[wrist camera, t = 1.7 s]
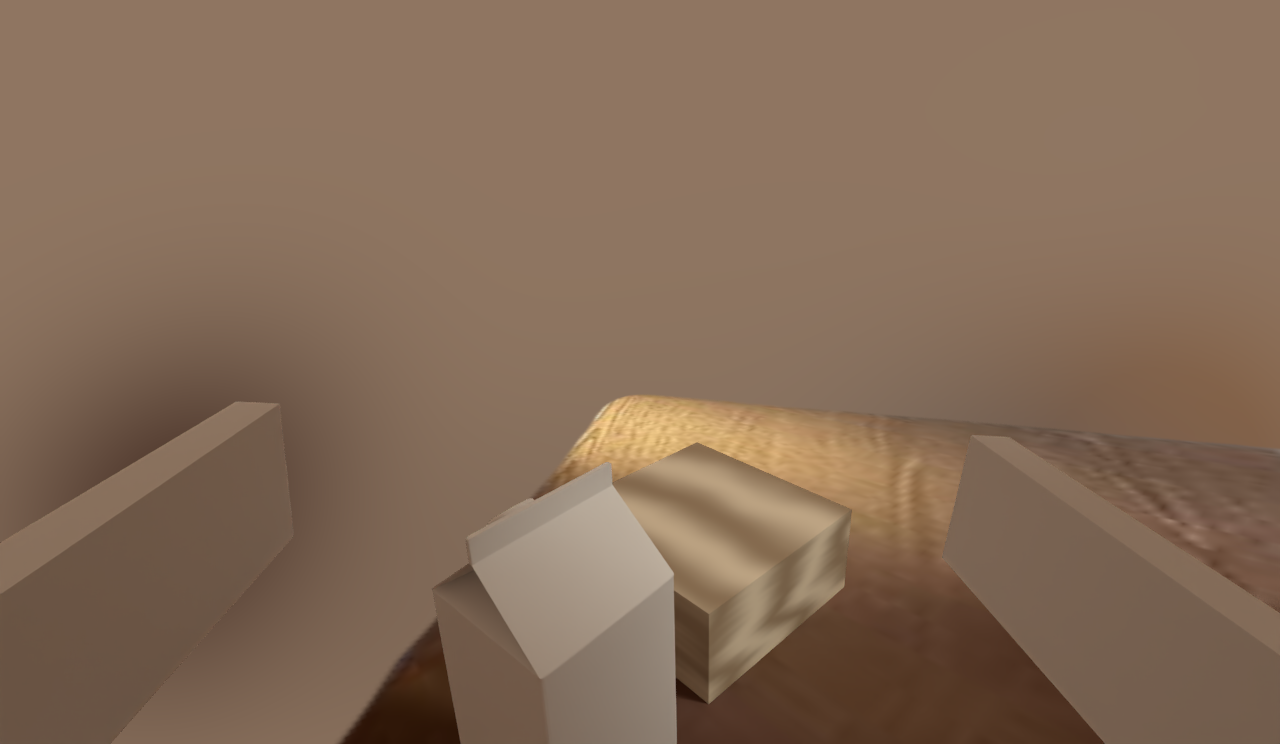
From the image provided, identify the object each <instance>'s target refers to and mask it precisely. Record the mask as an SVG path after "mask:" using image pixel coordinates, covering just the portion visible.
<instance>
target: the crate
mask: <svg viewBox="0 0 1280 744" xmlns="http://www.w3.org/2000/svg"><path fill="white" fill-rule="evenodd" d="M612 485H613V486H614V488H615V489H616V491H617V492H618V493H619V495H620V496H621V498H622V499H623V501H624V502H625V503H626V505H627V506H628V508H629V509H630V511H631V512H632V514H633V515H634V516H635V518H636V519H637V521H638V522H639V524H640V525H641V526H642V528H643V529H644V531H645V532H646V534H647V535H648V537H649V538H650V539H651V541H652V542H653V544H654V545H655V547H656V548H657V549H658V551H659V552H660V554H661V555H662V557H663V558H664V559H665V561H666V562H667V564H668V565H669V567H670V568H671V570H672V571H673V573H674V624H675V675H676V678H677V679H679V680H680V681H681V682H682V683H683V684H685V685H686V686H687V687H688V688H689V689H691V690H692V691H693V692H694V693H696V694H697V695H698V696H699V697H700V698H702V699H703V700H704V701H705V702H707V703H708V704H709V703H710V702H712V701H713V700H714V699H715V698H716V697H717V696H719V695H720V694H721V693H722V692H723V691H724V690H726V689H727V688H728V687H729V686H730V685H731V684H732V683H734V682H735V681H736V680H737V679H738V678H739V677H741V676H742V675H743V674H744V673H745V672H746V671H747V670H749V669H750V668H751V667H752V666H753V665H754V664H756V663H757V662H758V661H759V660H760V659H761V658H762V657H764V656H765V655H766V654H767V653H768V652H769V651H771V650H772V649H773V648H774V647H775V646H776V645H777V644H779V643H780V642H781V641H782V640H783V639H784V638H786V637H787V636H788V635H789V634H790V633H791V632H793V631H794V630H795V629H796V628H797V627H798V626H799V625H801V624H802V623H803V622H804V621H805V620H806V619H808V618H809V617H810V616H811V615H812V614H813V613H814V612H816V611H817V610H818V609H819V608H820V607H821V606H823V605H824V604H825V603H826V602H827V601H828V600H829V599H831V598H832V597H833V596H834V595H835V594H836V593H838V592H839V591H840V590H841V589H842V588H843V587H844V584H845V574H846V564H847V553H848V543H849V533H850V523H851V512H852V509H849V508H847V507H845V506H842V505H840V504H838V503H835V502H833V501H831V500H829V499H826V498H824V497H822V496H819V495H817V494H815V493H812V492H810V491H808V490H806V489H803V488H801V487H799V486H796V485H794V484H792V483H789V482H787V481H785V480H782V479H780V478H778V477H776V476H773V475H771V474H769V473H766V472H764V471H762V470H759V469H757V468H755V467H753V466H750V465H748V464H746V463H743V462H741V461H739V460H736V459H734V458H732V457H729V456H727V455H725V454H723V453H720V452H718V451H716V450H713V449H711V448H709V447H706V446H704V445H702V444H699V443H695V444H693V445H691V446H688V447H686V448H684V449H682V450H680V451H678V452H676V453H674V454H672V455H670V456H667V457H665V458H663V459H661V460H659V461H657V462H655V463H653V464H651V465H648V466H646V467H644V468H642V469H640V470H638V471H636V472H634V473H632V474H630V475H627V476H625V477H623V478H621V479H619V480H617V481H615V482H613V483H612Z"/></svg>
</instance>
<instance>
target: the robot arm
mask: <svg viewBox="0 0 1280 744" xmlns="http://www.w3.org/2000/svg"><path fill="white" fill-rule="evenodd" d="M293 536H294V533H293V524H292V515H291V505H290V497H289V486H288V477H287V468H286V459H285V449H284V440H283V430H282V421H281V412H280V404H276V403H254V402H253V403H252V402H235V403H233V404H232V405H230V406H228V407H227V408H225V409H223V410H221V411H220V412H218V413H216V414H215V415H213V416H211V417H210V418H208V419H207V420H205V421H203V422H202V423H200V424H198V425H197V426H195V427H193V428H191V429H190V430H188V431H187V432H185V433H183V434H181V435H180V436H178V437H176V438H175V439H173V440H171V441H170V442H168V443H166V444H165V445H163V446H161V447H160V448H158V449H156V450H155V451H153V452H151V453H150V454H148V455H146V456H145V457H143V458H141V459H140V460H138V461H136V462H135V463H133V464H131V465H130V466H128V467H126V468H125V469H123V470H121V471H119V472H118V473H116V474H115V475H113V476H111V477H109V478H108V479H106V480H104V481H103V482H101V483H99V484H98V485H96V486H95V487H93V488H91V489H89V490H88V491H86V492H84V493H83V494H81V495H79V496H78V497H76V498H74V499H73V500H71V501H69V502H68V503H66V504H64V505H63V506H61V507H59V508H58V509H56V510H54V511H53V512H51V513H49V514H48V515H46V516H44V517H43V518H41V519H39V520H38V521H36V522H34V523H33V524H31V525H29V526H28V527H26V528H24V529H22V530H21V531H19V532H17V533H16V534H14V535H12V536H11V537H9V538H7V539H6V540H4V541H3V542H0V744H110V743H111V742H112V741H113V740H114V739H115V738H116V737H117V735H118V734H119V733H120V732H121V731H122V730H123V729H124V728H125V726H126V725H127V724H128V723H129V722H130V721H131V720H132V719H133V717H134V716H135V715H136V714H137V713H138V712H139V711H140V710H141V708H142V707H143V706H144V705H145V704H146V703H147V702H148V700H149V699H150V698H151V697H152V696H153V695H154V693H156V691H157V690H158V689H159V688H160V687H161V686H162V685H163V684H164V682H165V681H166V680H167V679H168V678H169V677H170V675H171V674H172V673H173V672H174V671H175V670H176V669H177V668H178V666H179V665H180V664H181V663H182V662H183V661H184V660H185V659H186V657H187V656H188V655H189V654H190V653H191V652H192V651H193V650H194V648H195V647H196V646H197V645H198V644H199V643H200V641H201V640H202V639H203V638H204V637H205V636H206V635H207V634H208V632H209V631H210V630H211V629H212V628H213V627H214V626H215V625H216V624H217V622H218V621H219V620H220V619H221V618H222V617H223V616H224V614H225V613H226V612H227V611H228V610H229V609H230V608H231V607H232V605H233V604H234V603H235V602H236V601H237V600H238V599H239V598H240V596H241V595H242V594H243V593H244V592H245V591H246V590H247V588H248V587H249V586H250V585H251V584H252V583H253V582H254V581H255V579H256V578H257V577H258V576H259V575H260V574H261V572H262V571H263V570H264V569H265V568H266V567H267V566H268V565H269V563H270V562H271V561H272V560H273V559H274V558H275V556H276V555H278V553H279V552H280V551H281V550H282V549H283V548H284V547H285V545H286V544H287V543H288V542H289V541H290V540H291V539H292V538H293ZM942 558H943V559H944V560H945V561H946V562H947V564H948V565H949V566H950V567H951V568H952V569H953V570H954V572H955V573H956V574H957V575H958V576H959V577H960V578H961V580H962V581H963V582H964V583H965V584H966V585H967V586H968V588H969V589H970V590H971V591H972V592H973V593H974V594H975V596H976V597H977V598H978V599H979V600H980V601H981V602H982V604H983V605H984V606H985V607H986V608H987V609H988V610H989V612H990V613H991V614H992V615H993V616H994V617H995V618H996V620H997V621H998V622H999V623H1000V624H1001V625H1002V626H1003V628H1004V629H1005V630H1006V631H1007V632H1008V633H1009V634H1010V636H1011V637H1012V638H1013V639H1014V640H1015V641H1016V642H1017V644H1018V645H1019V646H1020V647H1021V648H1022V649H1023V650H1024V652H1025V653H1026V654H1027V655H1028V656H1029V657H1030V658H1031V660H1032V661H1033V662H1034V663H1035V664H1036V665H1037V666H1038V668H1039V669H1040V670H1041V671H1042V672H1043V673H1044V674H1045V676H1046V677H1047V678H1048V679H1049V680H1050V681H1051V682H1052V684H1053V685H1054V686H1055V687H1056V688H1057V689H1058V690H1059V692H1060V693H1061V694H1062V695H1063V696H1064V697H1065V698H1066V700H1067V701H1068V702H1069V703H1070V704H1071V705H1072V706H1073V708H1074V709H1075V710H1076V711H1077V712H1078V713H1079V714H1080V716H1081V717H1082V718H1083V719H1084V720H1085V721H1086V722H1087V724H1088V725H1089V726H1090V727H1091V728H1092V729H1093V730H1094V732H1095V733H1096V734H1097V735H1098V736H1099V737H1100V738H1101V740H1102V741H1103V742H1104V743H1105V744H1280V613H1279V612H1277V611H1276V610H1274V609H1273V608H1271V607H1270V606H1268V605H1267V604H1265V603H1263V602H1262V601H1260V600H1259V599H1257V598H1256V597H1254V596H1253V595H1251V594H1250V593H1248V592H1247V591H1245V590H1243V589H1242V588H1240V587H1239V586H1237V585H1236V584H1234V583H1233V582H1231V581H1230V580H1228V579H1227V578H1225V577H1223V576H1222V575H1220V574H1219V573H1217V572H1216V571H1214V570H1213V569H1211V568H1210V567H1208V566H1206V565H1205V564H1203V563H1202V562H1200V561H1199V560H1197V559H1196V558H1194V557H1193V556H1191V555H1190V554H1188V553H1186V552H1185V551H1183V550H1182V549H1180V548H1179V547H1177V546H1176V545H1174V544H1173V543H1171V542H1170V541H1168V540H1166V539H1165V538H1163V537H1162V536H1160V535H1159V534H1157V533H1156V532H1154V531H1153V530H1151V529H1150V528H1148V527H1146V526H1145V525H1143V524H1142V523H1140V522H1139V521H1137V520H1136V519H1134V518H1133V517H1131V516H1130V515H1128V514H1126V513H1125V512H1123V511H1122V510H1120V509H1119V508H1117V507H1116V506H1114V505H1113V504H1111V503H1110V502H1108V501H1106V500H1105V499H1103V498H1102V497H1100V496H1099V495H1097V494H1096V493H1094V492H1093V491H1091V490H1089V489H1088V488H1086V487H1085V486H1083V485H1082V484H1080V483H1079V482H1077V481H1076V480H1074V479H1073V478H1071V477H1069V476H1068V475H1066V474H1065V473H1063V472H1062V471H1060V470H1059V469H1057V468H1056V467H1054V466H1053V465H1051V464H1049V463H1048V462H1046V461H1045V460H1043V459H1042V458H1040V457H1039V456H1037V455H1036V454H1034V453H1033V452H1031V451H1029V450H1028V449H1026V448H1025V447H1023V446H1022V445H1020V444H1019V443H1017V442H1016V441H1014V440H1013V439H1011V438H1009V437H999V436H977V435H971V438H970V442H969V446H968V450H967V455H966V459H965V463H964V467H963V471H962V476H961V480H960V484H959V488H958V492H957V497H956V501H955V505H954V509H953V513H952V518H951V522H950V526H949V530H948V535H947V539H946V543H945V547H944V551H943V556H942Z"/></svg>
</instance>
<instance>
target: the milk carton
mask: <svg viewBox="0 0 1280 744" xmlns="http://www.w3.org/2000/svg"><path fill="white" fill-rule="evenodd" d="M487 525H488V526H486V527H484V528H482V529H480V530H478V531H476V532H475V533H472V534H471V535H469V536H467V538H466V546H467V552H468V559H469V564H467V565H466V566H464V567H463V568H461V569H460V570H458V571H457V572H455V573H454V574H453V575H451V576H449V577H448V578H447V579H445V580H444V581H442V582H441V583H439V584H438V585H436V586H435V587H434V588H433V589H432V590H433V595H434V602H435V607H436V613H437V619H438V624H439V629H440V635H441V640H442V646H443V651H444V656H445V662H446V667H447V673H448V678H449V683H450V689H451V694H452V700H453V705H454V710H455V716H456V721H457V727H458V732H459V737H460V743H461V744H677V727H676V675H675V624H674V573H673V571H672V570H671V568H670V567H669V565H668V564H667V562H666V561H665V559H664V558H663V557H662V555H661V554H660V552H659V551H658V549H657V548H656V547H655V545H654V544H653V542H652V541H651V539H650V538H649V537H648V535H647V534H646V532H645V531H644V529H643V528H642V526H641V525H640V524H639V522H638V521H637V519H636V518H635V516H634V515H633V514H632V512H631V511H630V509H629V508H628V506H627V505H626V503H625V502H624V501H623V499H622V498H621V496H620V495H619V493H618V492H617V491H616V489H615V488H614V486H613V485H612V469H611V463H609V462H606V463H604V464H602V465H600V466H598V467H596V468H595V469H593V470H591V471H589V472H587V473H585V474H583V475H581V476H580V477H578V478H576V479H574V480H572V481H570V482H568V483H566V484H565V485H563V486H561V487H559V488H557V489H555V490H553V491H551V492H550V493H548V494H546V495H544V496H542V497H540V498H538V499H536V500H534V499H532V498H531V499H527V500H525V501H523V502H521V503H519V504H517V505H515V506H513V507H511V508H510V509H508V510H507V511H504V512H503V513H501V514H499V515H498V516H496V517H495V518H493V519H492V520H490V521H489V523H488V524H487Z"/></svg>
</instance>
